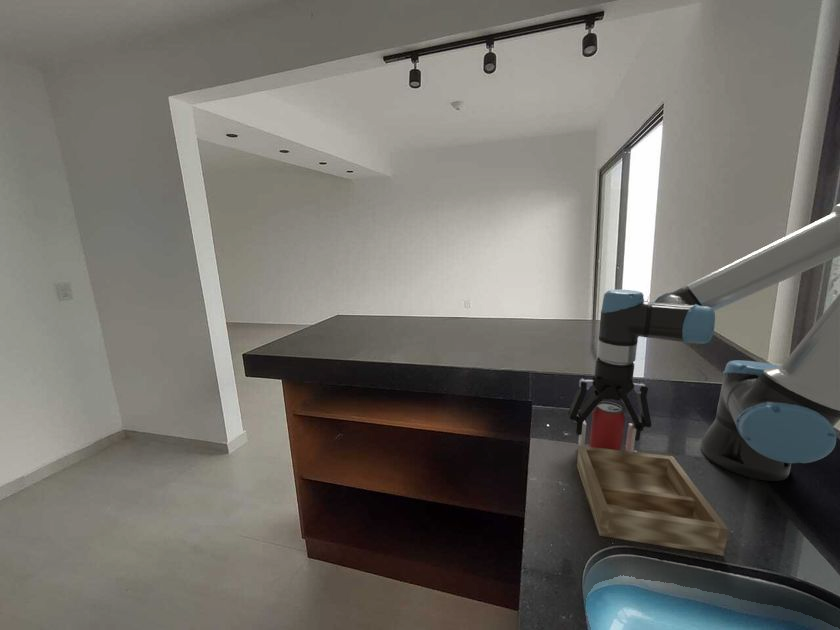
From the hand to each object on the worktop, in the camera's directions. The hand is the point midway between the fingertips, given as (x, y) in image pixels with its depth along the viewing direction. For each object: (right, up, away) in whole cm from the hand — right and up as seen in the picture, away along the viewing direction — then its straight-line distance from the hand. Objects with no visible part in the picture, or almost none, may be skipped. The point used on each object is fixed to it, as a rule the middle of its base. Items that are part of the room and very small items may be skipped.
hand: (604, 448), depth 84 cm
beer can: (0, -1, 0) cm, 1 cm away
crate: (-2, -5, -15) cm, 16 cm away
